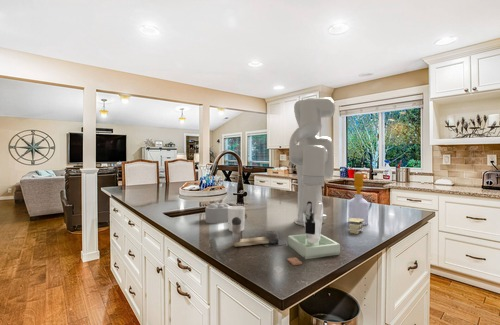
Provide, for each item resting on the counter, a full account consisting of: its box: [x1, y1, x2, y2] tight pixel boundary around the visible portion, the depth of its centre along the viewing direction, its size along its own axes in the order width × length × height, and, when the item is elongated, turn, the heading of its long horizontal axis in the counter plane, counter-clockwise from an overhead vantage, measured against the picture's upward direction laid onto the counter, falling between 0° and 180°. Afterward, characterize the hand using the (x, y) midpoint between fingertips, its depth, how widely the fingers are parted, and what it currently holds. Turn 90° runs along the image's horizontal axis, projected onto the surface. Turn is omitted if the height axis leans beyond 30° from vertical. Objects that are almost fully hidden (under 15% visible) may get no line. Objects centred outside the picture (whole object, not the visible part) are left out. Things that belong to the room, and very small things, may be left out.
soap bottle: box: [347, 172, 369, 226], centre depth 124 cm, size 9×9×25 cm
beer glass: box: [303, 200, 324, 246], centre depth 89 cm, size 7×7×15 cm
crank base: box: [262, 238, 303, 266], centre depth 89 cm, size 8×24×1 cm, turn 17°
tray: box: [287, 233, 341, 260], centre depth 89 cm, size 13×13×4 cm
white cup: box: [227, 205, 246, 232], centre depth 113 cm, size 8×8×10 cm
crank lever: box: [231, 217, 280, 247], centre depth 95 cm, size 18×5×10 cm, turn 107°
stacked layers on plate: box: [348, 218, 365, 235], centre depth 111 cm, size 10×9×6 cm
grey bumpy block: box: [204, 201, 230, 224], centre depth 129 cm, size 10×13×9 cm
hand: (312, 230), depth 89 cm, fingers closed on beer glass, 6 cm apart
